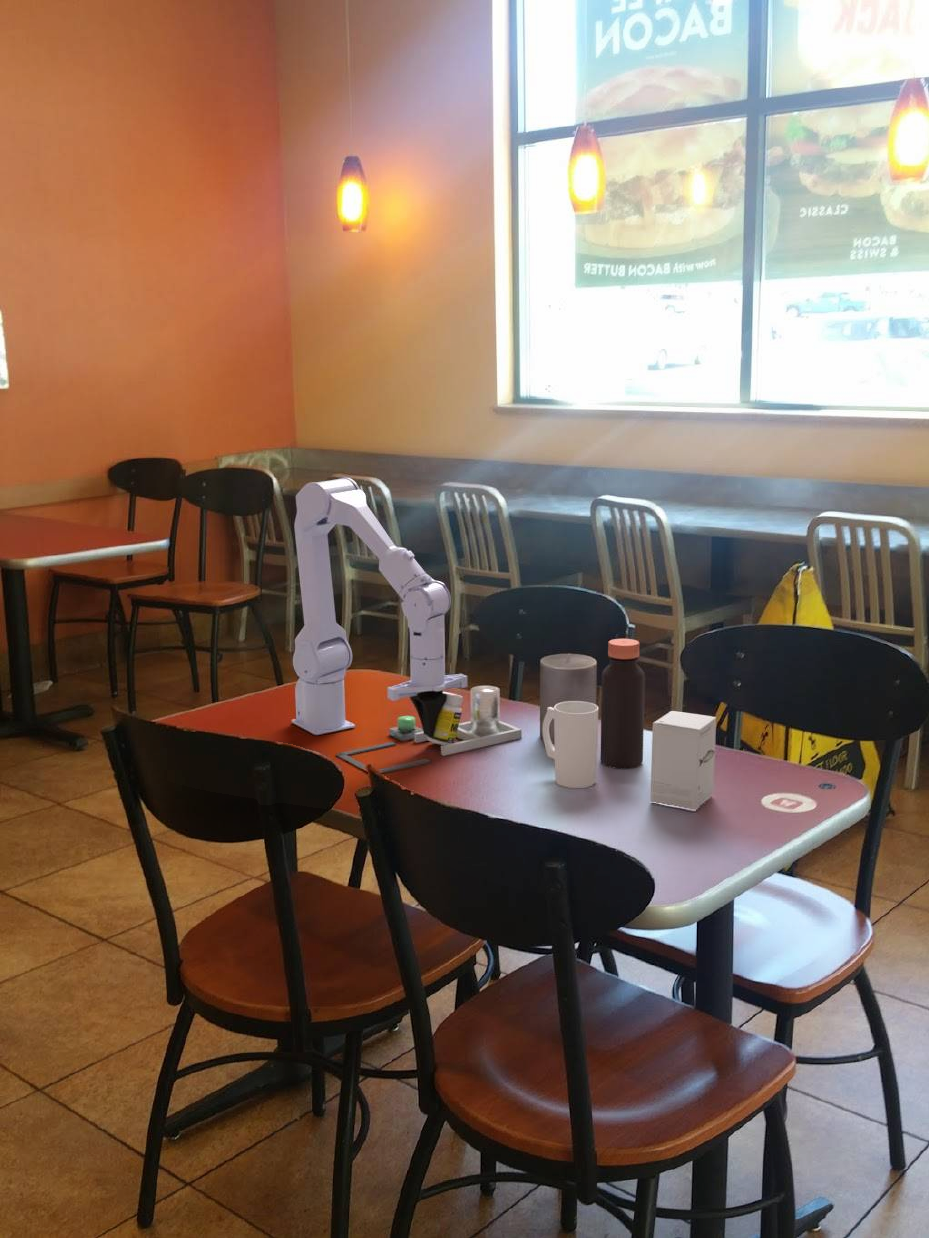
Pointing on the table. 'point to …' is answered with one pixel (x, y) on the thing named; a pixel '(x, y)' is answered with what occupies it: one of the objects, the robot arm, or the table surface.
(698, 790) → the supplement box
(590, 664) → the pillar candle
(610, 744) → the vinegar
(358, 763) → the tote
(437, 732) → the supplement bottle
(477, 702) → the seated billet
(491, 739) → the workpiece holding fixture
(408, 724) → the button
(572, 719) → the mug
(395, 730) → the grey button base
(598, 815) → the table surface
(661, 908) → the table surface
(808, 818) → the table surface
